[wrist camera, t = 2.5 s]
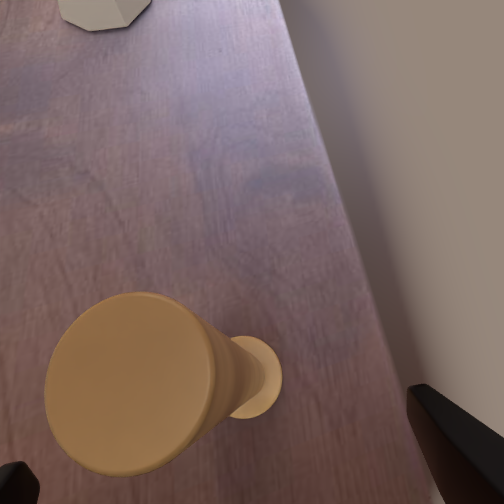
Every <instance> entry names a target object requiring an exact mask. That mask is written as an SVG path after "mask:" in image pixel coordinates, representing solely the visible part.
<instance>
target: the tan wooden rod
mask: <svg viewBox="0 0 504 504" xmlns="http://www.w3.org/2000/svg"><path fill="white" fill-rule="evenodd" d="M281 386H282V368H281V364H280V361H279V359H278V357H277V355H276V353H275V352H274V351H273V349H272V348H271V347H270V346H269V345H268V344H266V343H265V342H263V341H262V340H260V339H258V338H255V337H251V336H237V337H233V338H228V337H227V336H226V335H224V334H223V333H222V332H220V331H219V330H217V329H216V328H215V327H213V326H212V325H210V324H209V323H208V322H206V321H205V320H204V319H202V318H201V317H199V316H198V315H197V314H195V313H194V312H192V311H191V310H190V309H188V308H187V307H186V306H184V305H183V304H181V303H179V302H178V301H176V300H174V299H172V298H170V297H168V296H165V295H161V294H158V293H152V292H129V293H123V294H119V295H116V296H113V297H110V298H108V299H105V300H103V301H101V302H99V303H98V304H96V305H94V306H92V307H91V308H90V309H88V310H87V311H85V312H84V313H83V314H82V315H81V316H80V317H78V318H77V319H76V320H75V321H74V322H73V324H72V325H71V326H70V327H69V328H68V329H67V331H66V332H65V333H64V335H63V336H62V338H61V339H60V341H59V343H58V345H57V346H56V348H55V350H54V353H53V355H52V357H51V360H50V363H49V366H48V370H47V375H46V380H45V390H44V399H45V409H46V415H47V419H48V422H49V426H50V429H51V431H52V433H53V435H54V437H55V439H56V441H57V442H58V444H59V445H60V447H61V448H62V449H63V450H64V451H65V453H66V454H67V455H68V456H69V457H70V458H71V459H73V460H74V461H75V462H76V463H78V464H79V465H81V466H83V467H84V468H86V469H88V470H90V471H92V472H95V473H98V474H100V475H105V476H110V477H132V476H138V475H142V474H146V473H149V472H151V471H154V470H156V469H158V468H160V467H162V466H164V465H165V464H167V463H169V462H170V461H172V460H173V459H174V458H176V457H177V456H178V455H179V454H181V453H182V452H183V451H185V450H186V449H187V448H188V447H190V446H191V445H192V444H194V443H195V442H196V441H197V440H199V439H200V438H201V437H203V436H204V435H205V434H206V433H208V432H209V431H210V430H211V429H213V428H214V427H215V426H217V425H218V424H219V423H220V422H222V421H223V420H224V419H226V418H227V417H228V416H231V417H234V418H239V419H247V418H252V417H256V416H258V415H260V414H262V413H264V412H265V411H266V410H268V409H269V408H270V407H271V406H272V405H273V403H274V402H275V401H276V399H277V397H278V395H279V393H280V390H281Z"/></svg>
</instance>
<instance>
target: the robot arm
mask: <svg viewBox="0 0 504 504" xmlns="http://www.w3.org/2000/svg"><path fill="white" fill-rule="evenodd" d="M407 416H408V419H409V422H410V425H411V427H412V429H413V432H414V434H415V436H416V439H417V441H418V443H419V446H420V448H421V450H422V453H423V455H424V457H425V460H426V462H427V464H428V467H429V469H430V471H431V474H432V476H433V478H434V481H435V483H436V485H437V487H438V490H439V492H440V494H441V496H442V497H443V500H444V502H445V504H504V438H503V437H502V436H500V435H499V434H497V433H496V432H495V431H493V430H492V429H490V428H489V427H487V426H486V425H485V424H483V423H482V422H480V421H479V420H477V419H476V418H475V417H473V416H472V415H470V414H469V413H468V412H466V411H465V410H463V409H462V408H460V407H459V406H458V405H456V404H455V403H453V402H452V401H450V400H449V399H447V398H446V397H445V396H443V395H442V394H440V393H439V392H437V391H436V390H435V389H433V388H432V387H430V386H429V385H427V384H418V385H413V386H409V387H408V389H407ZM39 492H40V484H39V481H38V479H37V478H36V476H35V475H34V474H33V472H32V471H31V470H30V468H29V467H28V465H27V464H26V463H25V462H23V461H18V462H12V463H7V464H5V465H3V466H1V467H0V504H37V501H38V497H39Z"/></svg>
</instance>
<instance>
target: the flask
mask: <svg viewBox="0 0 504 504" xmlns="http://www.w3.org/2000/svg"><path fill="white" fill-rule="evenodd" d="M150 2H151V0H58V5H59V9H60V13H61V18H62V19H64V20H66V21H68V22H70V23H73V24H75V25H77V26H79V27H81V28H83V29H85V30H88V31H96V30H103V29H111V28H119V27H127V26H128V25H129V24H130V23H131V22H132V21H133V20H134V19H135V18H136V17H137V16H138V15H139V13H140V12H141V11H142V10H143V9H144V8H145V7H146V6H147V5H148V4H149V3H150Z"/></svg>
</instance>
